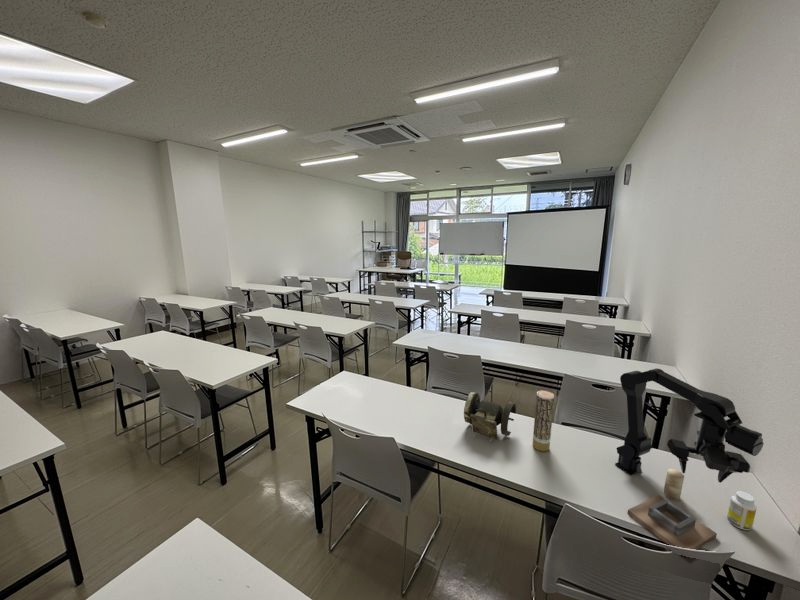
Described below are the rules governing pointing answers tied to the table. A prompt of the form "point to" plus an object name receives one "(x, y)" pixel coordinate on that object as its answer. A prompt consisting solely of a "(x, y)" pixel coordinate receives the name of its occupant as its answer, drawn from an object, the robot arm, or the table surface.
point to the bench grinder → (487, 416)
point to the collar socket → (671, 523)
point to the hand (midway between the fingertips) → (700, 477)
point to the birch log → (543, 420)
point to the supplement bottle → (742, 510)
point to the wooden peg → (673, 484)
